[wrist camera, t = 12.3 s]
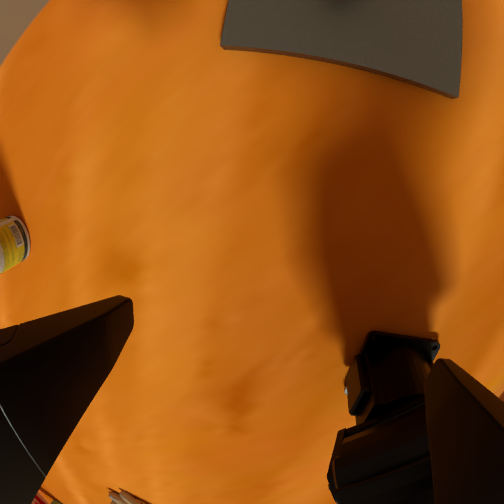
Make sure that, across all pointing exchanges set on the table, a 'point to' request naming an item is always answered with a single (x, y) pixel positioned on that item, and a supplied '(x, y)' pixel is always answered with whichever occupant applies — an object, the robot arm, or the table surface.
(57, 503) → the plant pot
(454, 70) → the hub
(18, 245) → the supplement bottle
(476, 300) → the table surface
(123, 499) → the hand model
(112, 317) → the robot arm
